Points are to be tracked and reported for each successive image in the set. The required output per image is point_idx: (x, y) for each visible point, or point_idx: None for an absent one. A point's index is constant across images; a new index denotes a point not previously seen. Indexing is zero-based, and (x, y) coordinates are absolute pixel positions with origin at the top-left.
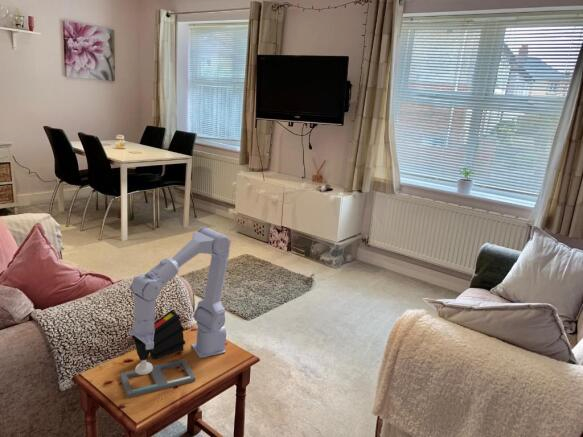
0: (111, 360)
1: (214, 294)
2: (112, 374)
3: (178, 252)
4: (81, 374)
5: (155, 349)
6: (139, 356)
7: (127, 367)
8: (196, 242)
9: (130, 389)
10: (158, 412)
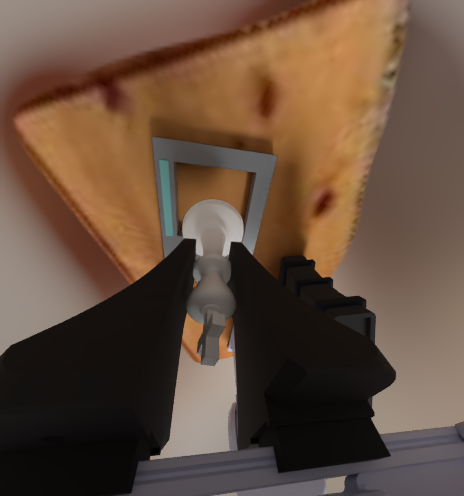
0: (363, 157)
1: None
2: (298, 133)
3: None
4: None
5: (292, 280)
6: (173, 250)
7: (298, 191)
8: None
9: (176, 157)
10: (66, 201)
